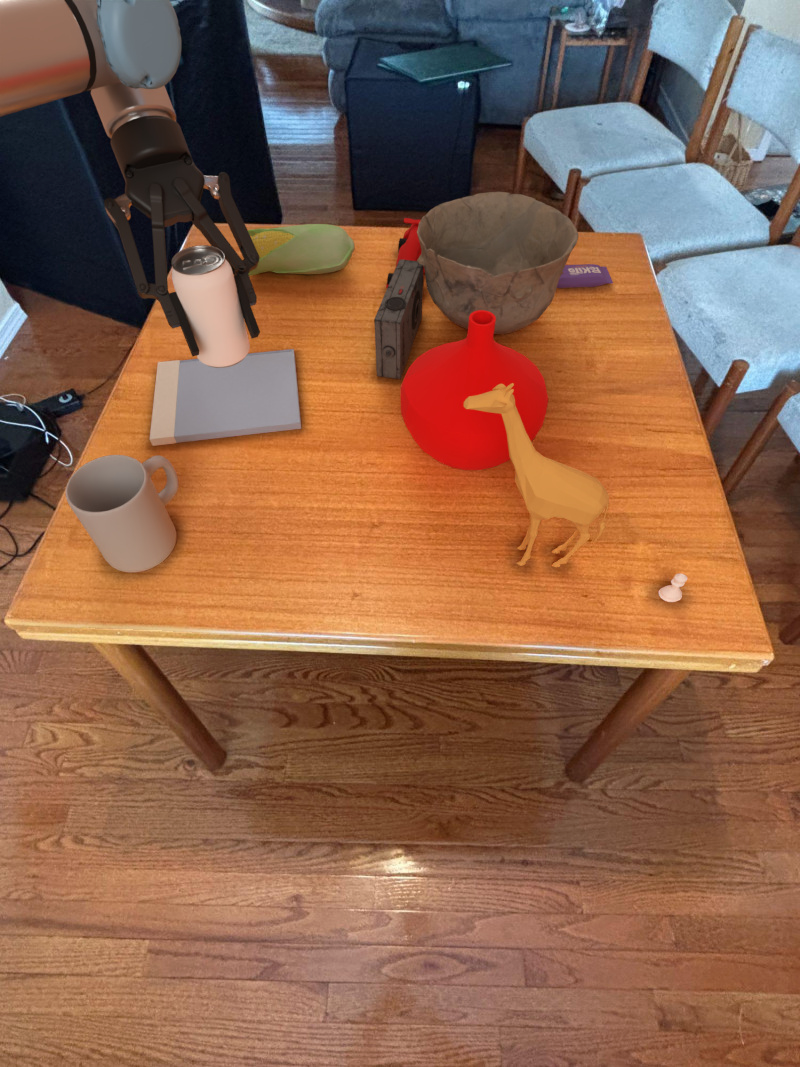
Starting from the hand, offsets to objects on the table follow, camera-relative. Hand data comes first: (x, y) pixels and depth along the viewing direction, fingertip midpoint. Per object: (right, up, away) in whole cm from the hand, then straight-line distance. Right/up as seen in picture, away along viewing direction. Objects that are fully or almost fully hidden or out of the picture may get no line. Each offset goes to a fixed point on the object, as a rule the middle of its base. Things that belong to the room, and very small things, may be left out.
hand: (226, 344), depth 72 cm
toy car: (+22, +23, +37) cm, 49 cm away
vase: (+29, -9, +13) cm, 33 cm away
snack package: (+49, +21, +36) cm, 64 cm away
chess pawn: (+50, -29, -1) cm, 57 cm away
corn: (+2, +24, +38) cm, 45 cm away
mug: (-10, -22, +5) cm, 24 cm away
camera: (+20, +7, +25) cm, 33 cm away
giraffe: (+34, -24, +2) cm, 42 cm away
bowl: (+34, +13, +30) cm, 47 cm away
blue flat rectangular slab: (-5, -2, +19) cm, 19 cm away
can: (-2, 0, +5) cm, 5 cm away
